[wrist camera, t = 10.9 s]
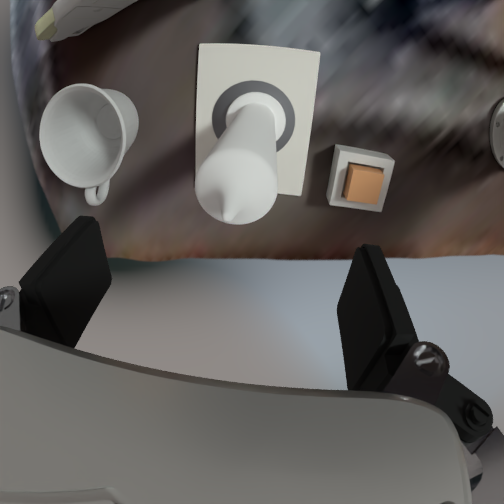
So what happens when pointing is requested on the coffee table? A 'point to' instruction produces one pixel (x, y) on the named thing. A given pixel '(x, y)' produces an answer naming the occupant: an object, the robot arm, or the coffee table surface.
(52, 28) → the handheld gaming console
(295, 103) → the paper sheet
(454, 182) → the coffee table surface
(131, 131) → the teacup
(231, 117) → the candle
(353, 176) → the button
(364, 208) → the button housing
